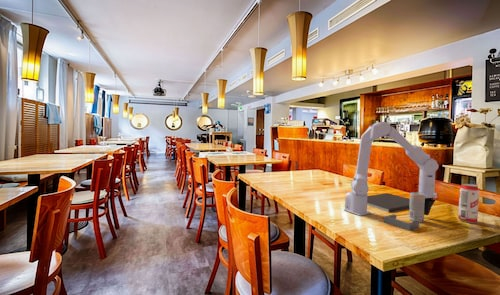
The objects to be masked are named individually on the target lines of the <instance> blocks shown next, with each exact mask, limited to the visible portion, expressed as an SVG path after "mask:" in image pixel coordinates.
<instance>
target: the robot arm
mask: <svg viewBox="0 0 500 295" xmlns="http://www.w3.org/2000/svg"><path fill="white" fill-rule="evenodd" d="M381 137H382V138H383V137H386V138H389V139H391V140H393V141H394V142H395V143H397V144H398V145H399V146H400V147H402V148H403V150H405V155H406V156H408V157H409V158H410V159H411V160H412V161H413V162H414V163H415V164H416V165H417V167H418V168H419V173H418V174H419V175H418V176H419V178H418V179H419V180H418V192H419V193H423V194H424V195H425V205H424V216H429V215H430V211H431V209H432V207H433V205H434V203H436V199H437V198H438V195H437V194H438V193H437V192H435V190H436V189H435V186H436V172H437V170H438V169H439V166H440V165H439V164H438V162H437V160H435V159H434V158H431V154H428V153H426V152H425V151H424V150H423V148H422V146H421V145H417V144H412V143H410V142H409V140H407V139H406V138H405V137H404V136H403V135H402V134H401V133H400V132H399V131H398V130H397V129H396V128H395V127H394V126H393V125H390V123H388V122H386V121H380V122H375V123H373V124H371V125H369V126H368V128H367V129H366V130H365V132H363V133H362V134H361V137H360V142H359V148H358V153H357V156H358V157H357V162H356V168H355V169H356V170H355V174H354V176H353V179H352V181H351V182H350V188H351V189H352V190H351V191H348V192H347V193H346V195H345V196H344V197H345V199H344V202H345V203H344V208H343V211H344V212H348V213H352V214H353V215H358V216H359V217H361V216H365V215H369V214H372V212H371V211H370V210H369V211H368V205H367V196H369V194H368V192H369V191H370V189H369V186H368V170H369V164H370V157H371V150H372V145H373V144H372V143H373V142H374V141H376V140H377V139H379V138H381Z"/></svg>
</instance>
